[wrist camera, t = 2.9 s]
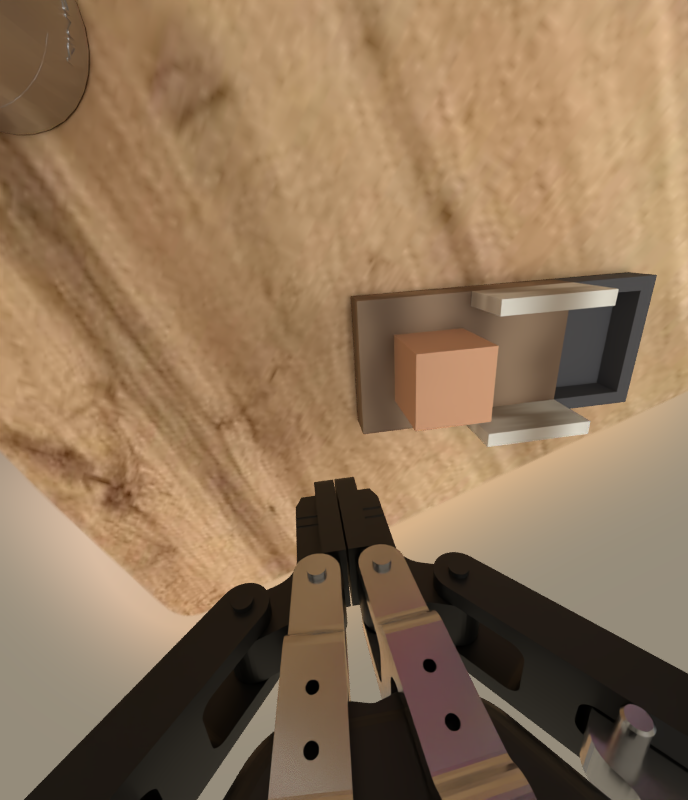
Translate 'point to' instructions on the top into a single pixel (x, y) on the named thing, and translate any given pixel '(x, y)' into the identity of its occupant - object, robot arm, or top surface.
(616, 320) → the tray
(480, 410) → the terracotta block
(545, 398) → the walnut platform
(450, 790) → the robot arm
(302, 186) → the top surface
